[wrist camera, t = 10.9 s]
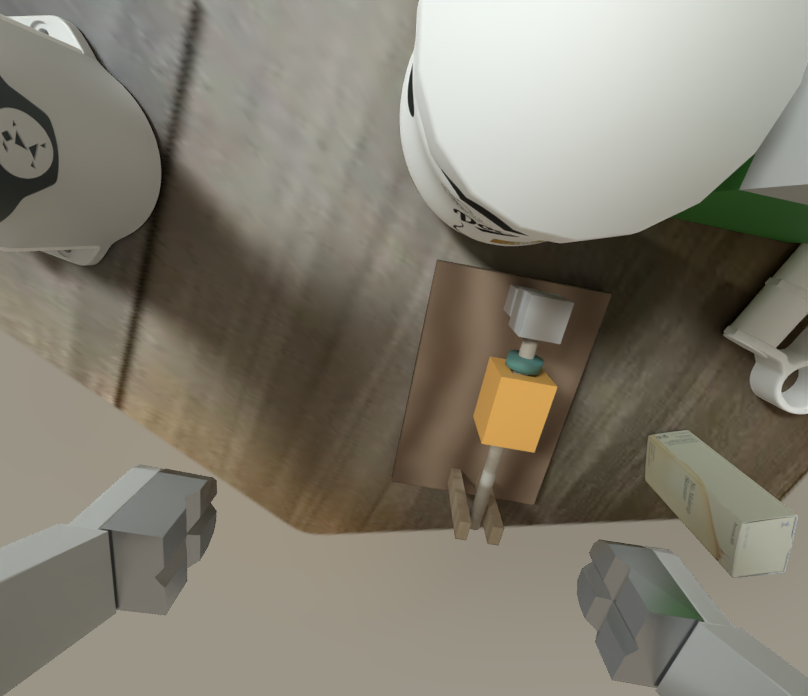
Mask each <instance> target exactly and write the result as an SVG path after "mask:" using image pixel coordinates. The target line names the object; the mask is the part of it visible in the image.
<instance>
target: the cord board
mask: <svg viewBox="0 0 808 696" xmlns="http://www.w3.org/2000/svg"><path fill="white" fill-rule="evenodd" d="M611 296H612V294H610V293H607V292H604V291H600V290H594V289H589V288H584V287H579V286H573V285H568V284H563V283H558V282H552V281H547V280H542V279H537V278H532V277H526V276H521V275H516V274H511V273H505V272H500V271H495V270H490V269H484V268H479V267H474V266H469V265H463V264H458V263H453V262H448V261H442V260H437V262H436V267H435V272H434V277H433V281H432V286H431V291H430V296H429V301H428V305H427V310H426V315H425V320H424V325H423V329H422V334H421V339H420V344H419V348H418V353H417V358H416V363H415V368H414V372H413V377H412V382H411V387H410V392H409V396H408V401H407V406H406V411H405V416H404V420H403V425H402V430H401V435H400V439H399V444H398V449H397V454H396V459H395V463H394V468H393V473H392V482H398V483H404V484H410V485H416V486H422V487H428V488H434V489H440V490H446V491H449V497H450V504H451V511H452V519H453V526H454V533H455V538H456V539H461V540H466V539H467V536H468V532H469V529H470V528H471V529H473V530H478V529H479V528H480V524H481V521H482V522H483V526H484V530H485V535H486V539H487V543H488V544H493V545H499V542H500V539H501V536H502V533H503V530H504V526H503V523H502V519H501V516H500V513H499V509H498V506H497V503H496V499H501V500H507V501H513V502H520V503H526V504H532V505H534V503H535V500H536V497H537V495H538V492H539V489H540V487H541V484H542V481H543V478H544V476H545V473H546V470H547V468H548V465H549V462H550V460H551V457H552V454H553V452H554V449H555V446H556V444H557V441H558V438H559V435H560V433H561V430H562V427H563V425H564V422H565V419H566V417H567V414H568V411H569V409H570V406H571V403H572V401H573V398H574V395H575V392H576V390H577V387H578V384H579V382H580V379H581V376H582V374H583V371H584V368H585V366H586V363H587V360H588V358H589V355H590V352H591V350H592V347H593V344H594V341H595V339H596V336H597V333H598V331H599V328H600V325H601V323H602V320H603V317H604V315H605V312H606V309H607V307H608V304H609V301H610V298H611ZM490 356H491V357H496V358H502V359H506V362H505V364H506V366H507V367H509V368H510V369H512V370H514V371H513V373H514V374H520V375H525V376H528V375H539V374H540V372H541V369H543V370H544V372H545V373H546V374H547V375H548V376H549V377H550V378H551V380H552V381H553V382H554V383H555V384H556V385H557V390H556V393H555V396H554V399H553V401H552V404H551V407H550V410H549V413H548V416H547V418H546V421H545V424H544V427H543V430H542V433H541V435H540V438H539V441H538V444H537V447H536V450H535V452H534V453H533V452H527V451H521V450H515V449H509V448H504V447H498V446H492V445H486V444H482V443H481V440H480V437H479V434H478V430H477V427H476V424H475V421H474V417H473V415H474V412H475V408H476V405H477V401H478V397H479V394H480V390H481V387H482V383H483V379H484V376H485V372H486V369H487V365H488V361H489V358H490ZM466 494H471V495H475V499H474V502H473V505H472V509H471V512H470V514H469V509H468V504H467V499H466Z"/></svg>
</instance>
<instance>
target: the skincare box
mask: <svg viewBox="0 0 808 696" xmlns="http://www.w3.org/2000/svg"><path fill="white" fill-rule="evenodd" d="M645 481H646V482H647V483H648V484H649V485H650V486H651V488H652V489H653V490H654V491H655V492H656V493H657V494H658V495H659V496H660V498H661V499H662V500H663V501H664V502H665V503H666V504H667V505H668V506H669V508H670V509H671V510H672V511H673V512H674V513H675V514H676V515H677V517H678V518H679V519H680V520H681V521H682V522H683V523H684V524H685V525H686V527H688V529H689V530H690V531H691V532H692V533H693V534H694V535H695V537H696V538H697V539H698V540H699V541H700V542H701V543H702V544H703V546H705V548H706V549H707V550H708V551H709V552H710V553H711V554H712V556H713V557H714V558H715V559H716V560H717V561H718V562H719V563H720V564H721V566H722V567H723V568H724V569H725V570H726V571H727V572H728V573H729V575H730V576H731V577H733V578H738V577H748V576H758V575H768V574H777V573H784V572H785V571H786V566H787V563H788V559H789V555H790V551H791V548H792V544H793V538H794V534H795V529H796V525H797V520H798V515H797V514H795V513H794V512H793V511H792V510H790V509H789V508H788V507H787V506H785V505H784V504H783V503H781V502H780V501H779V500H777V499H776V498H775V497H773V496H772V495H771V494H770V493H768V492H767V491H766V490H765V489H763V488H762V487H761V486H759V485H758V484H757V483H755V482H754V481H753V480H752V479H750V478H749V477H748V476H746V475H745V474H744V473H743V472H741V471H740V470H739V469H737V468H736V467H735V466H734V465H732V464H731V463H730V462H728V461H727V460H726V459H725V458H723V457H722V456H721V455H719V454H718V453H717V452H715V451H714V450H713V449H712V448H710V447H709V446H708V445H706V444H705V443H704V442H703V441H701V440H700V439H699V438H697V437H696V436H695V435H694V434H692V433H691V432H690V431H688V430H683V431H675V432H667V433H660V434H654V435H649V436H648V442H647V453H646V467H645Z"/></svg>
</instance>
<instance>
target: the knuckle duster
mask: <svg viewBox="0 0 808 696" xmlns="http://www.w3.org/2000/svg"><path fill="white" fill-rule="evenodd" d="M806 315H808V244H805V243H801V245H800V246H799V247H798V248H797V249H796V250H795V252H794V253H793V254H792V255H791V256H790V257H789V258H788V260H787V261H786V262H785V263H784V264H783V265H782V267H781V268H780V269H779V270H778V271H777V272H776V273H775V275H774V276H773V277H770V278H769V279H768V280H767V281H766V282H765V286H764V287H763V288H762V290H761V291H760V292H759V293H758V294H757V295H756V297H755V298H754V299H753V300H752V301H751V302H750V303H749V305H748V306H747V307H746V308H745V309H744V310H743V312H742V313H741V314H740V315H739V316H738V317H737V319H736V320H735V321H734V322H733V323H732V324H731V325H730V326H727V328H726V329H725V330H724V334H723V336H725V337H726V338H728V339H729V340H731V341H733V342H734V343H736V344H738V345H739V346H741V347H743V348H745V349H747V350H748V351H750V352H752V353H754V356H755V361H756V363H755V365H754V367H753V369H752V371H751V375H750V386H751V389H752V391H753V392H754V394H755V395H757V396H758V397H759V398H761V399H763V400H765V401H767V402H769V403H771V404H773V405H775V406H777V407H779V408H780V409H782V410H784V411H787V412H789V413H793V414H808V326H807V327H806V328H805V329H804V330H803V331H802V332H801V334H800V335H799V336H798V337H797V338H796V339H795V340H794V341H793V342H792V343H791V344H790V345H789V346H788V347H787V348H785V349H780V350H778V349H776V347H777V346H778V345H779V344H780V343H781V342H782V341H783V340H784V339H785V338H786V336H787V335H788V334H789V333H790V332H791V331H792V330H793V329H794V328H795V327H796V326H797V325H798V323H799V322H800V321H801V320H802V319H803V318H804V317H805V316H806ZM797 369H798V371H799V374H798V378H797V380H796V382H795V383H794V385H793V386H792V387H791V388H789V389H788V390H787V391H785V392H783V393H781V389H782V385H783V383H784V381H785V379H786V378H787V377H788V376H789V375H790V374H791V373H792V372H794V371H795V370H797Z"/></svg>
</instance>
